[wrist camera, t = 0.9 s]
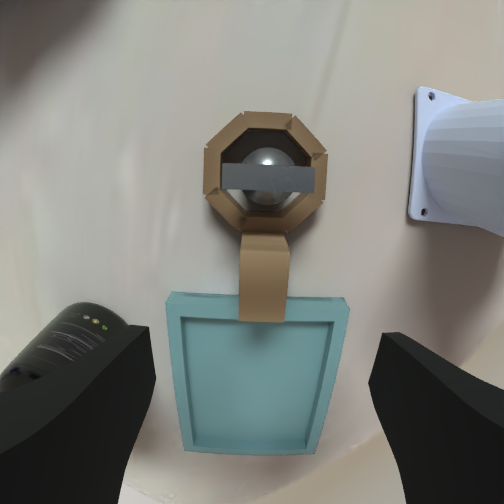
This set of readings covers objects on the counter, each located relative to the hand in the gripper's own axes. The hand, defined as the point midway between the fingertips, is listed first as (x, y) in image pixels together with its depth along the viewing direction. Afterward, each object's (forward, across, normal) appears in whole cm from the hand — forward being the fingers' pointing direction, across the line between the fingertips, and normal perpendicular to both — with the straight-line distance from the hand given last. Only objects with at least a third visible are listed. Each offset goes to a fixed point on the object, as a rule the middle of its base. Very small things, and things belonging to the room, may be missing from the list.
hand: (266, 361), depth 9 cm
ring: (+9, 0, -3) cm, 10 cm away
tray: (+9, 0, +9) cm, 13 cm away
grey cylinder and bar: (+9, 0, -5) cm, 11 cm away
